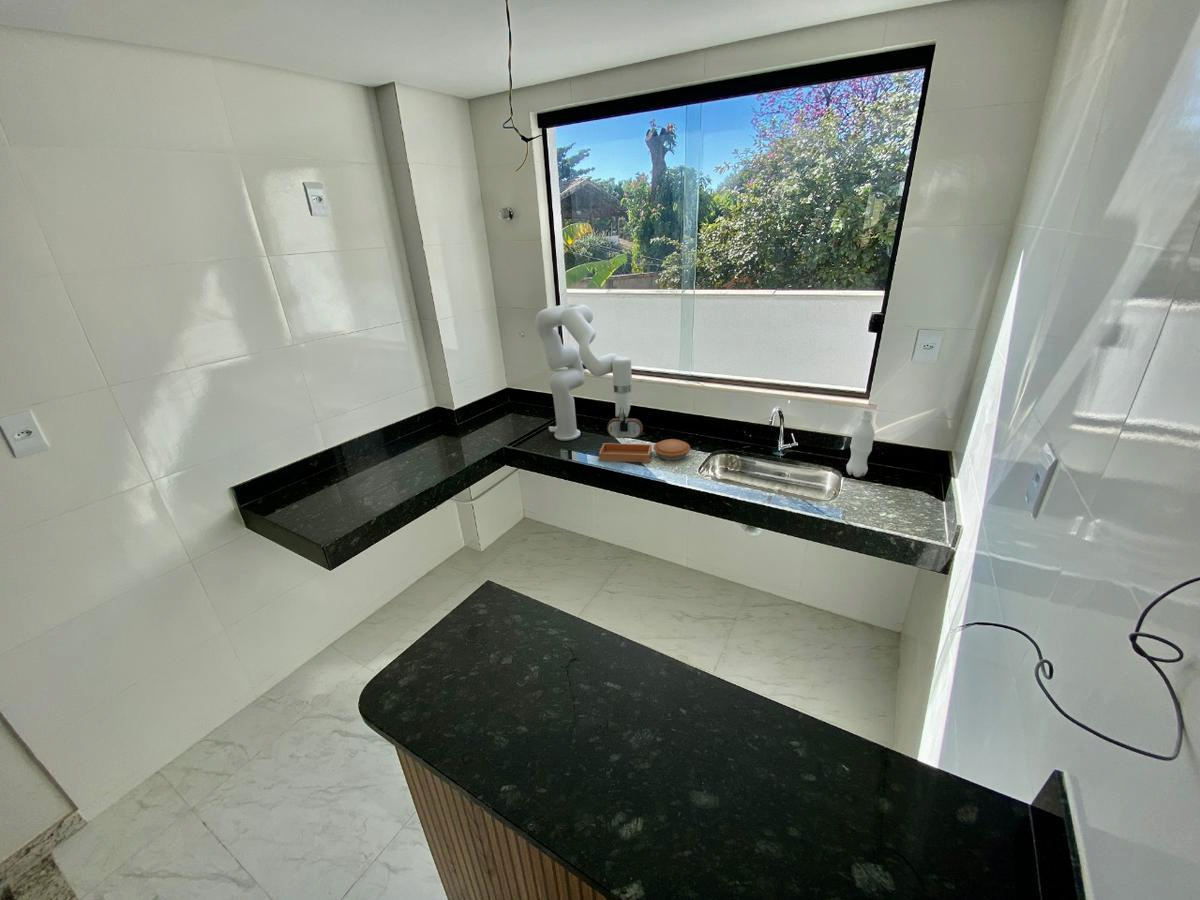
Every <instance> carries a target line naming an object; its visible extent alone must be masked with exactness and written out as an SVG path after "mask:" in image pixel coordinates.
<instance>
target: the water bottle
mask: <svg viewBox="0 0 1200 900" xmlns="http://www.w3.org/2000/svg"><path fill="white" fill-rule="evenodd" d="M872 415H873V412H872V411H869V410H864V411H862V414H861V417H860V421H859V422H858V423H857V425H856V426H855V427H854V429H853V430H852V435H851V441H850V444H849V448H850V458H849V460H848V462H847V464H846V467H845V468H846V472H847V474H848V475H849V476H852V475H853V477H855V478H860V477H864V476H865V475H866V474H867V473H868V470H869V467H868V458H869V455H870V454H871V452H872V451H873V443H874V438H875V437H876V436H875V434H876V433H875V429H874V427H873V424H872V420H873V417H872Z"/></svg>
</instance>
